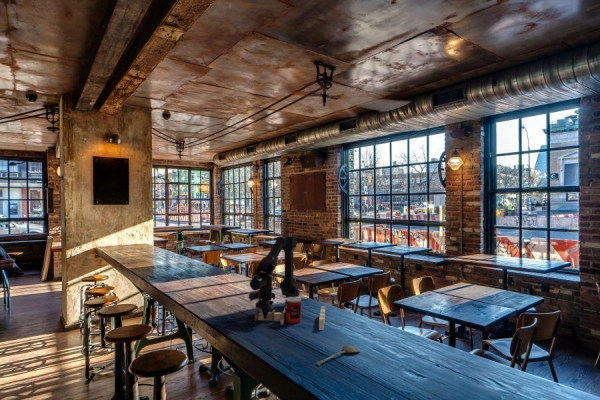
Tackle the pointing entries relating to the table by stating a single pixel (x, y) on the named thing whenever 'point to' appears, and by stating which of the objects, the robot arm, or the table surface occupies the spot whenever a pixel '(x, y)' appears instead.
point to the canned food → (293, 310)
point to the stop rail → (322, 318)
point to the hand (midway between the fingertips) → (265, 317)
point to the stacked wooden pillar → (271, 316)
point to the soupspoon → (345, 349)
